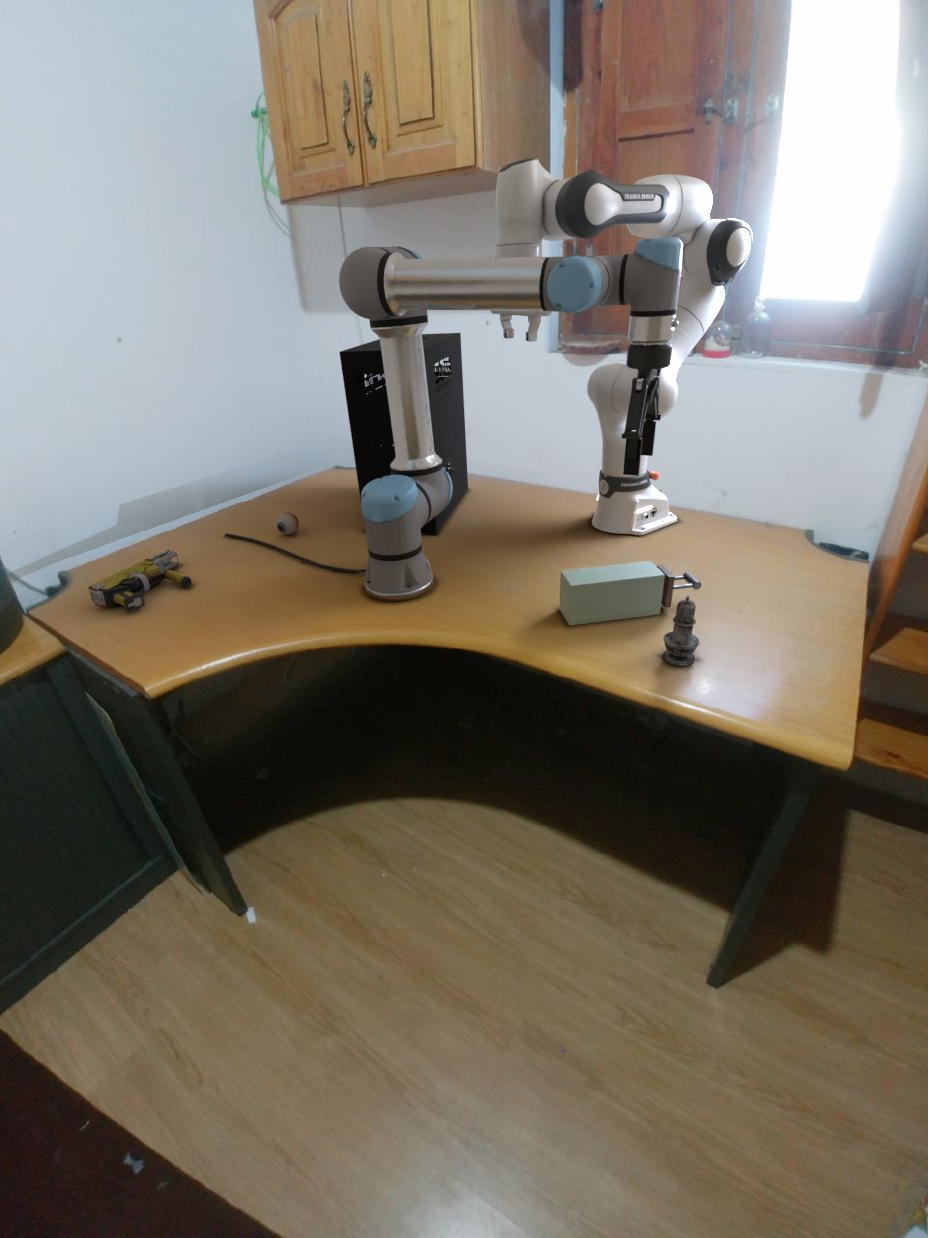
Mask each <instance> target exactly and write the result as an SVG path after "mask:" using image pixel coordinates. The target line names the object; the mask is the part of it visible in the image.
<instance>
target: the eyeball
mask: <svg viewBox="0 0 928 1238" xmlns="http://www.w3.org/2000/svg"><path fill="white" fill-rule="evenodd" d="M299 525H300V522H299V519H298V517H297V516H296V515H295V514H294V513H292V512H287V511H286V512H282V513H280V514H279V515H278V516H277V517H276V520H275V527H276V529H277V530H278V531H279V532H280V533H281V534H282V535H285V536H286V535H287V536H289V535H293V534H295V533H296V532H297V531H298V529H299Z"/></svg>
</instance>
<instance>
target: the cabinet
mask: <svg viewBox="0 0 928 1238" xmlns="http://www.w3.org/2000/svg"><path fill="white" fill-rule="evenodd" d="M664 578H665V574H664V573H663V572H661V571H660V570H659V569H658V568H657V565H656V564H655V563H653V562H652V561H651V560H642V561H635V562H626V563H625V562H624V563H615V564H608V565H597V566H590V567H581V568H573V569H565V570H564V569H563V570H560V578H559V579H560V580H559V581H560V582H559V605H558V606H559V608H558V609H559V612H561V614H562V616H563V617H564V619H565V621H566V622H567V624H568V625H569V626H579V625H585V624H595V623H602V622H610V621H617V620H618V621H619V620H625V619H633V618H640V617H650V616H657V615H661V608H662V604H661V601H662V593H663V586H664Z"/></svg>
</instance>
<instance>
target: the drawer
mask: <svg viewBox="0 0 928 1238" xmlns="http://www.w3.org/2000/svg"><path fill="white" fill-rule="evenodd" d="M656 567H657V568H658V569H659V570H660V571H661V572H663V573H664V574H665V578H664V586H663V593H662V601H661V606H663V608H664V609H668V608H671V607H672V602H673V601H672V600H673V595H674V590H682V589H691V588H692V589H693V590H695V591H697V590H700V589H701V587H702V583H701V581H699V580H698V579H697V578H696V577H695V576H694V575H693V574H691V573H690V572H689V571H686V572H684V573H683V574H682V575H677V576H675V575H674V574H673V573H672V572H671V571H670V570H669V569H667V567H665V565H663V564H658V565H656ZM682 580H683V581H684V582H685V583H684V584H675V581H682Z"/></svg>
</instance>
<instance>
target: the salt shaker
mask: <svg viewBox="0 0 928 1238" xmlns="http://www.w3.org/2000/svg"><path fill="white" fill-rule="evenodd" d="M696 608H697V606H696V604H695V601H692V600H690V596H688V595H687V596H686V597H685V599H682V600H680V601H679V602H678V603H677V606H676V611H675V616H674V617H673V618H672V622H673V629H672V631H668V632H666V633H665V634H664V635H663V637H662V641H663V642H664V646H665V649H666V650H664V652H663V653H662V658H663V660H665V662H667V663H669V664H671V665H673V666H679V667H686V666H687V667H688V666H691V665H692V664H693V663H694V662H695V661H696V657H695V655H694V653H695V651H696V650H697V649H698V647H699V645H700V639H699V638H698V637H697V636H696V635H694V634H693V628H694V626H695V625H696V623H697V621H696V619H695V614H696Z"/></svg>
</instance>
